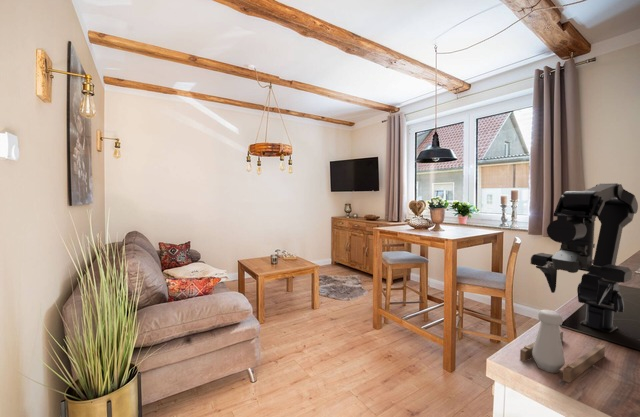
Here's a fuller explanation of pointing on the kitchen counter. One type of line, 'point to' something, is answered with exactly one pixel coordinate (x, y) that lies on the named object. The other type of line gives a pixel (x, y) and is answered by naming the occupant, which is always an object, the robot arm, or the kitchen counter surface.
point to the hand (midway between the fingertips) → (574, 298)
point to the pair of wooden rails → (573, 368)
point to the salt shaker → (549, 342)
